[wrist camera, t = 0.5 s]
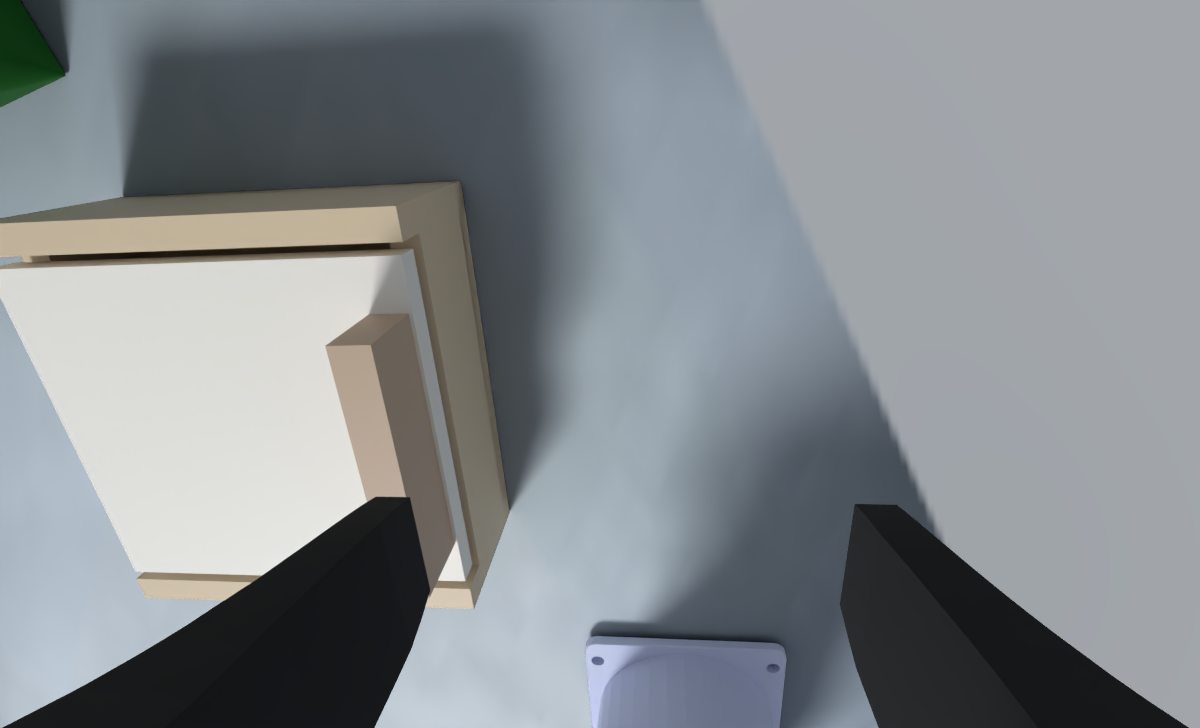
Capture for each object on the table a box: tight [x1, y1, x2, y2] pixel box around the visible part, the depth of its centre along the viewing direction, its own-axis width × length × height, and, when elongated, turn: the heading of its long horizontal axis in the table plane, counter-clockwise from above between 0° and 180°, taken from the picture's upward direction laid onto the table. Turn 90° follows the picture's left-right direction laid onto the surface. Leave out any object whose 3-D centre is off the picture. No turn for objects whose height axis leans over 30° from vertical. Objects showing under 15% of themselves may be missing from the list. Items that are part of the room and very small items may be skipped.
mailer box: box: [0, 181, 510, 609], centre depth 18 cm, size 12×11×5 cm
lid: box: [0, 248, 472, 598], centre depth 15 cm, size 10×11×3 cm
